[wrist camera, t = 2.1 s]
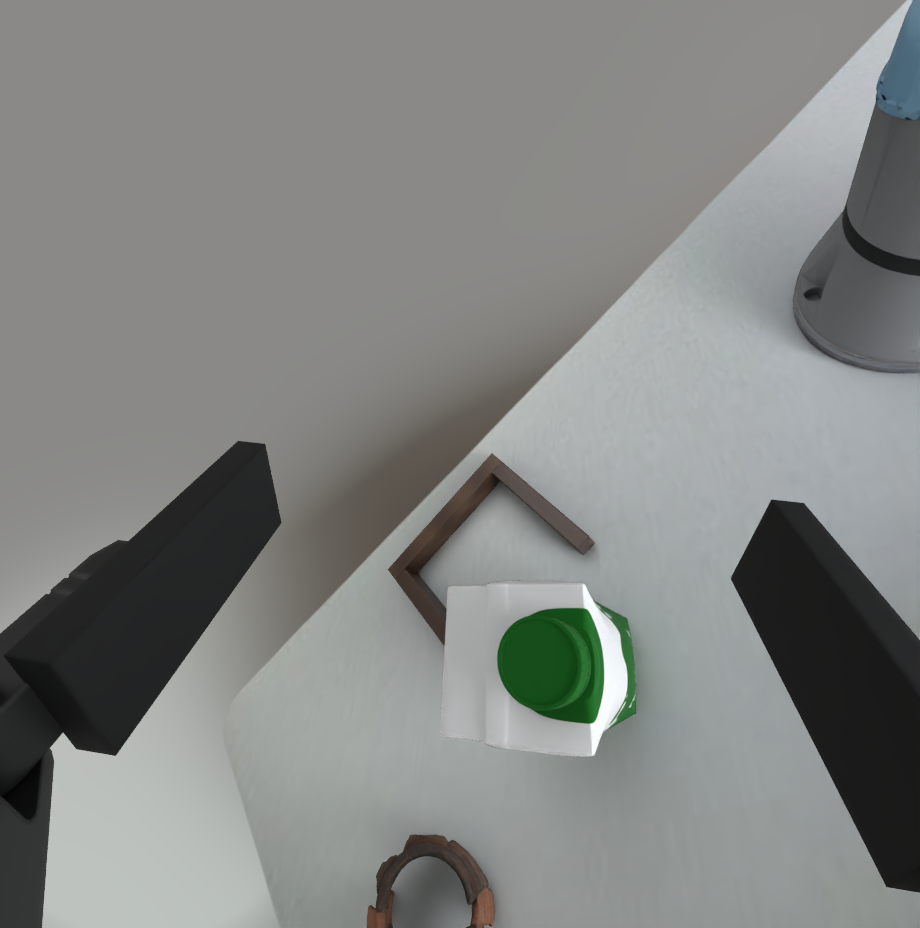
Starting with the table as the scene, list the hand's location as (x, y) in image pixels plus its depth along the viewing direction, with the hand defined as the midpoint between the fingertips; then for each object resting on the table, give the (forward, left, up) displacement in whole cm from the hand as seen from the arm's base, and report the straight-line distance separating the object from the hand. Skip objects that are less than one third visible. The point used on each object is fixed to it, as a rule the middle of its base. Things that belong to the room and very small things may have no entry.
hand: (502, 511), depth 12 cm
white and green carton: (+6, -1, -31) cm, 31 cm away
